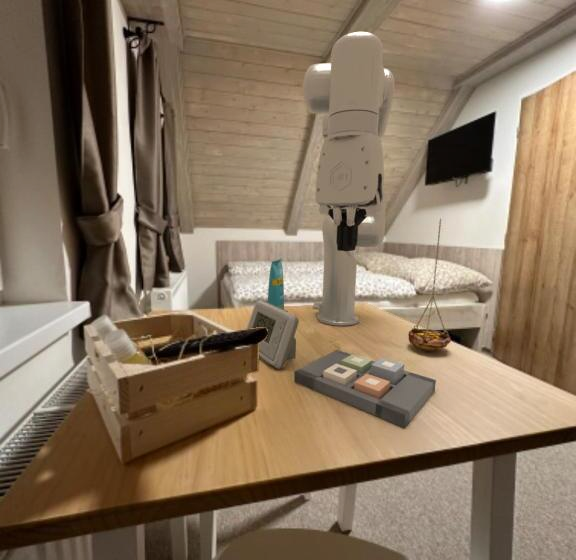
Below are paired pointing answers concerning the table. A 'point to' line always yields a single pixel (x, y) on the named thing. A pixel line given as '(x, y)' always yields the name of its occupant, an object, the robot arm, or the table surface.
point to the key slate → (388, 370)
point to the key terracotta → (372, 386)
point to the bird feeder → (425, 336)
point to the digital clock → (275, 333)
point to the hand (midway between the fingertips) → (346, 250)
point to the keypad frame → (391, 407)
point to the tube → (276, 284)
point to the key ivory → (340, 374)
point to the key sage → (357, 363)
